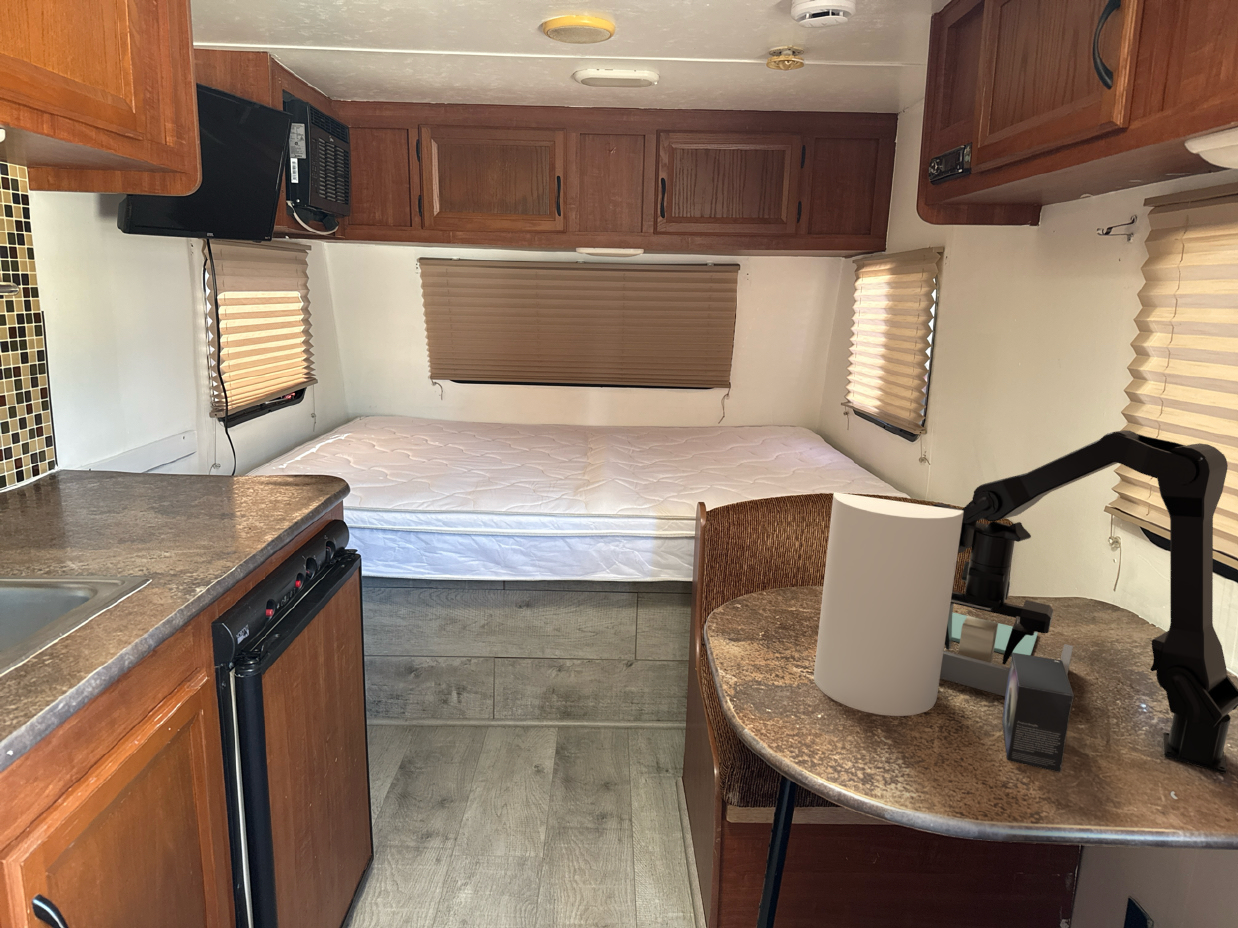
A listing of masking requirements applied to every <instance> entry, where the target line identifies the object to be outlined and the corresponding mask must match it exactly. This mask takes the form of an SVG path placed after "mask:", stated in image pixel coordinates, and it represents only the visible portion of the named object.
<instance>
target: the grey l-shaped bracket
mask: <svg viewBox="0 0 1238 928" xmlns="http://www.w3.org/2000/svg"><path fill="white" fill-rule="evenodd" d="M1073 649H1074V645H1070V644H1066V643H1064V644H1063V647H1062V651H1061V656H1060V660H1062V662H1063V665H1064V668H1065V671H1066V674H1067V676H1068V674H1069V671H1070V670H1069V669H1070V664H1071V659H1072V653H1073ZM1009 669H1010V666H1009V667H1008V666H1005V665H1000V664H997V663H993V662H992V663H989V662H986V661H982V660H978V659H974V658H970V657H966V656H963V655H959V654H958V653H954V652H950V651H948V650H944V651H943V658H942V665H941V672H940V680H941V679H942V680H945V681H948V682H952V683H955V684H959V685H963V686H966V687H970V688H974V689H977V690H981V691H984V692H986V693H987V692H988V693H991V694H995V695H999V696H1003V697H1005V696H1006V689H1007V682H1008V675H1009Z"/></svg>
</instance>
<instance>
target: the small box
mask: <svg viewBox="0 0 1238 928" xmlns="http://www.w3.org/2000/svg"><path fill="white" fill-rule="evenodd" d="M1009 668H1010V669H1009V675H1008V682H1007V689H1006V696H1004V704H1003V710H1002V711H1003V712H1002V717H1001V718H1002V720H1001V724H1002V725H1001V726H1002V730H1003V731H1002V732H1003V733H1002V734H1003V739H1004V740H1003V741H1004V747H1005V753H1006V754H1005V756H1006V760H1007V761H1008V762H1012V763H1017V764H1021V765H1026V766H1030V767H1034V768H1035V767H1036V768H1040V769H1044V770H1048V771H1051V772H1057V773H1061V772H1062V769H1063V761H1064V760H1063V759H1064V754H1065V753H1064V751H1065V745H1066V740H1067V733H1068V727H1069V721H1070V714H1071V710H1072V707H1073V706H1072V705H1073V701H1074V697H1075V695H1074V692H1073V689H1072V686H1071V684H1070V680H1069V677H1068V675H1067V674H1066V671H1065V668H1064V665H1063V662H1062V660H1061V659H1057V658H1056V659H1055V658H1048V657H1043V656H1037V655H1032V654H1031V655H1025V654H1019V653H1012V656H1010V663H1009Z"/></svg>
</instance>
